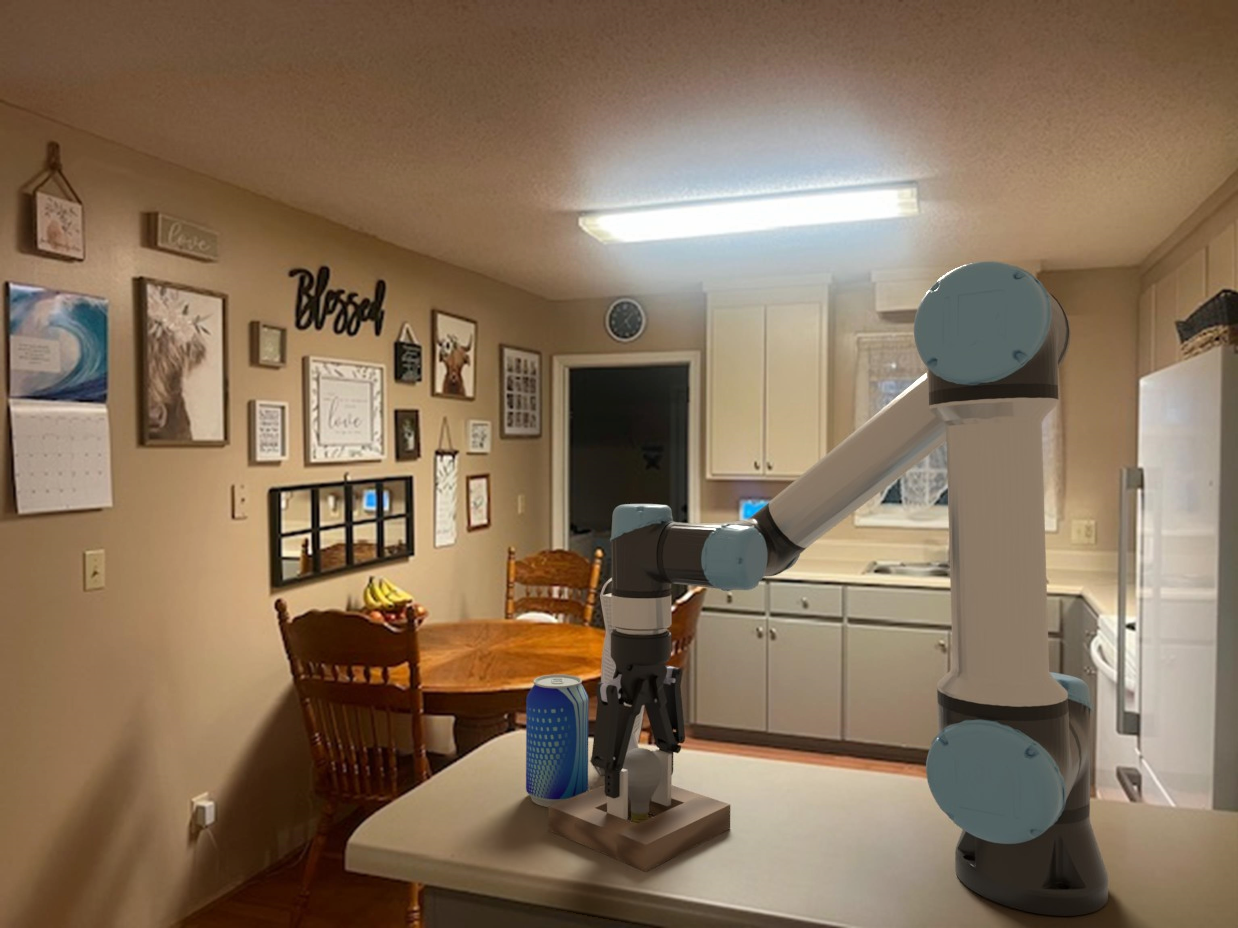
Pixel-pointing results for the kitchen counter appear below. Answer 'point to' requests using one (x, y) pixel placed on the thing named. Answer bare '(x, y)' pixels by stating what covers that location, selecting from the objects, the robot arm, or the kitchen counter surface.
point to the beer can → (556, 739)
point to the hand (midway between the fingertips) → (639, 811)
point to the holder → (640, 826)
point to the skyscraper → (609, 668)
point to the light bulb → (641, 780)
